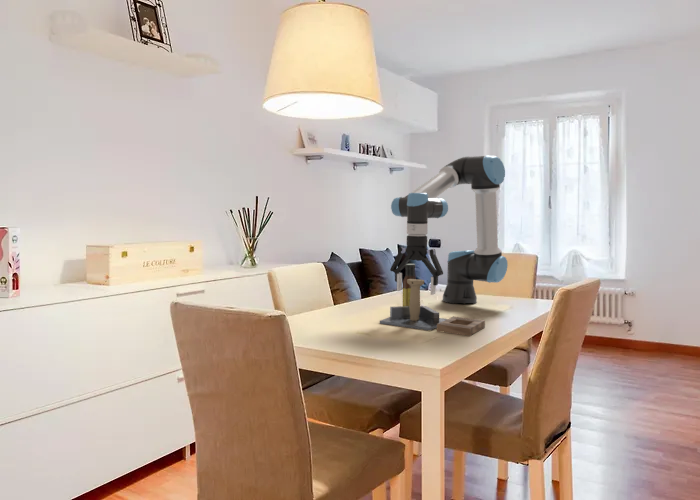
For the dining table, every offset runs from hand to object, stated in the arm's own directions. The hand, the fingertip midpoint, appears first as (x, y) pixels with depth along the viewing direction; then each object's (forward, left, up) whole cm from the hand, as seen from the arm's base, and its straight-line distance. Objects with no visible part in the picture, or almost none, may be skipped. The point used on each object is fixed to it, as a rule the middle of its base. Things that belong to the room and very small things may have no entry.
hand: (415, 292), depth 211 cm
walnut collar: (0, +18, -11) cm, 21 cm away
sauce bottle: (-15, -9, -12) cm, 21 cm away
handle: (0, 0, -11) cm, 11 cm away
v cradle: (0, 0, -11) cm, 11 cm away
